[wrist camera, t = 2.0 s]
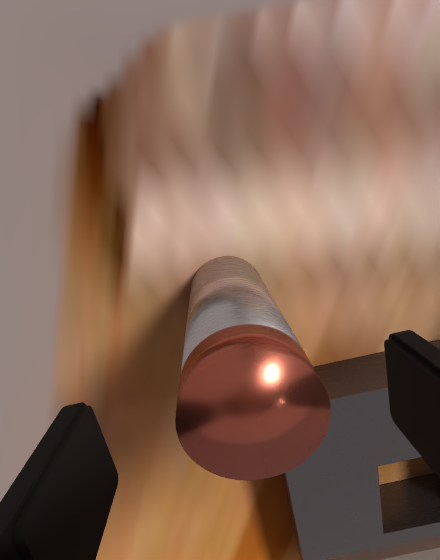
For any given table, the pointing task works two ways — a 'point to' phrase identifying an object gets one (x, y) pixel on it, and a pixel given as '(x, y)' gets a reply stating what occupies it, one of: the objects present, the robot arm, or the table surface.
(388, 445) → the socket block
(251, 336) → the pin
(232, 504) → the table surface
